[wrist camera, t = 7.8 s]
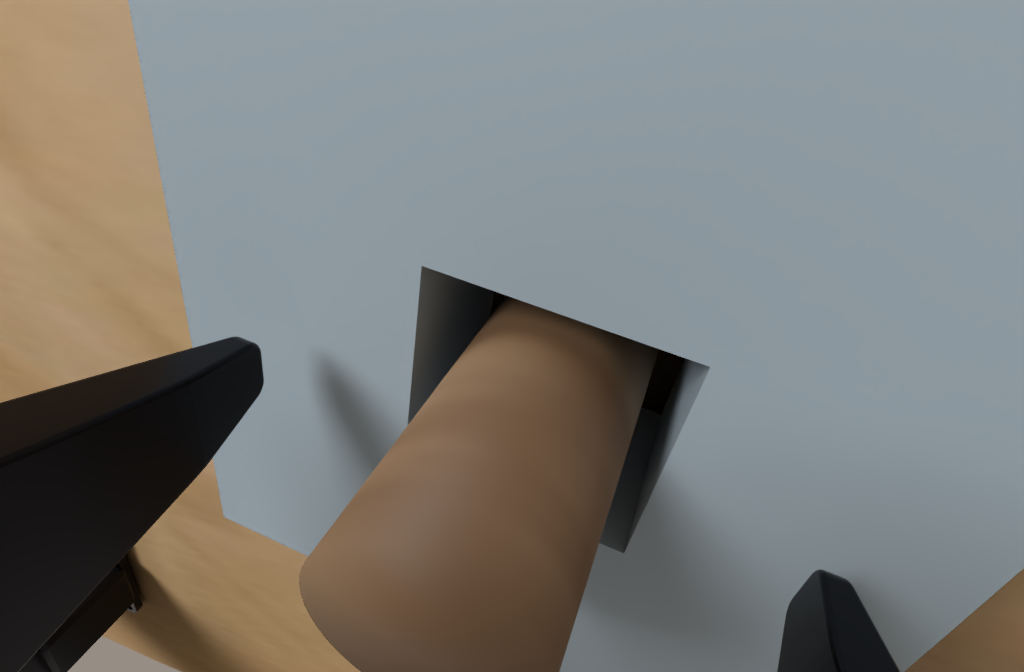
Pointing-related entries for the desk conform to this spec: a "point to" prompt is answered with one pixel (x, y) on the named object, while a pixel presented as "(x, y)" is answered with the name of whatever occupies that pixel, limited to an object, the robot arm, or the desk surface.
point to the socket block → (631, 276)
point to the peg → (485, 505)
